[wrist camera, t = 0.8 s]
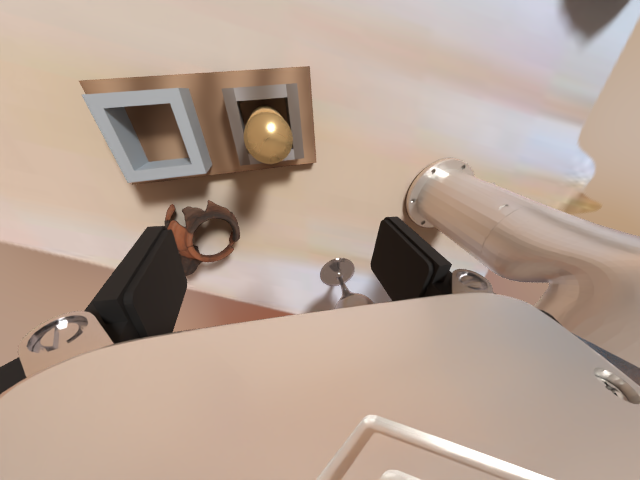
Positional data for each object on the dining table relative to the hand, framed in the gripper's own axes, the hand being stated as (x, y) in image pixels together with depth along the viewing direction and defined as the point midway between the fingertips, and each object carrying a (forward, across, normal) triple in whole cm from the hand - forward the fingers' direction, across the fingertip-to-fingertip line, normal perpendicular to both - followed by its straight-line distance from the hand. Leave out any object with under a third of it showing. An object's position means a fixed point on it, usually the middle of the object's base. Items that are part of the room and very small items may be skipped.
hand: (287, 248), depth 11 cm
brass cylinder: (+24, 0, -3) cm, 24 cm away
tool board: (+26, +5, -2) cm, 27 cm away
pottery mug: (+26, +10, +13) cm, 31 cm away
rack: (+25, +11, -1) cm, 27 cm away
